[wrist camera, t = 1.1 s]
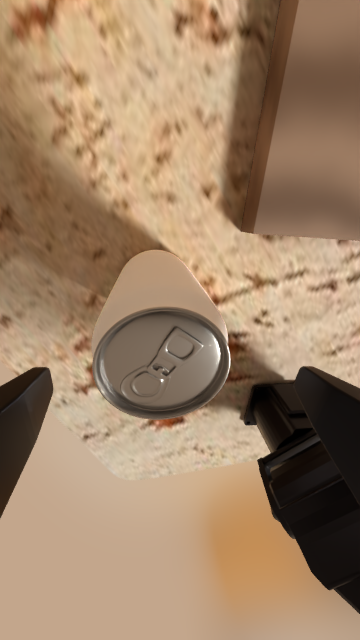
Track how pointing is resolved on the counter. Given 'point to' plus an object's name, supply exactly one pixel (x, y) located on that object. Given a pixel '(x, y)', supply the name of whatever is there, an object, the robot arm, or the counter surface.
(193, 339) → the can
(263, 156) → the base
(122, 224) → the counter surface
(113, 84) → the counter surface
